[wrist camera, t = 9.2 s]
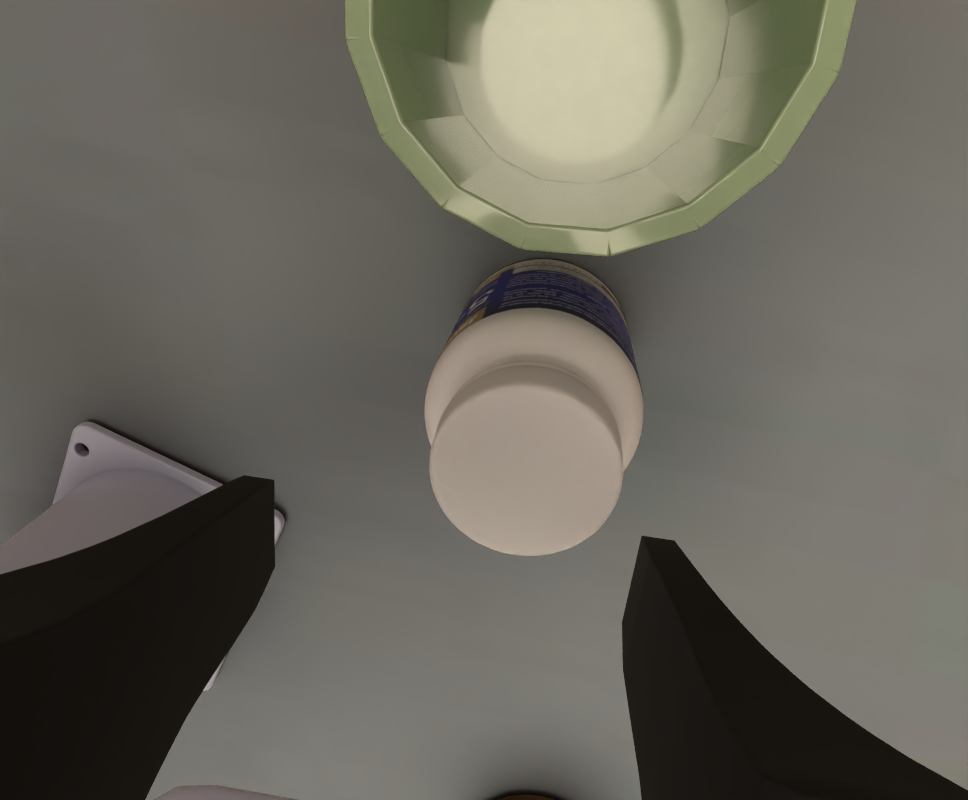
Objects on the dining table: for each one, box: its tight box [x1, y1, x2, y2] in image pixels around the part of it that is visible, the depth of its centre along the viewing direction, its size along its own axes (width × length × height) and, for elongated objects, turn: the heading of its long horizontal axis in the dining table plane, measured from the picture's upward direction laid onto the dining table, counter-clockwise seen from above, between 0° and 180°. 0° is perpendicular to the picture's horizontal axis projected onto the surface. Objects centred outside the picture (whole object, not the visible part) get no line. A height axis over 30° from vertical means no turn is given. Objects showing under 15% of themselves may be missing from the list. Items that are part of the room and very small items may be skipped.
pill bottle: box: [424, 259, 644, 556], centre depth 19 cm, size 5×5×9 cm
